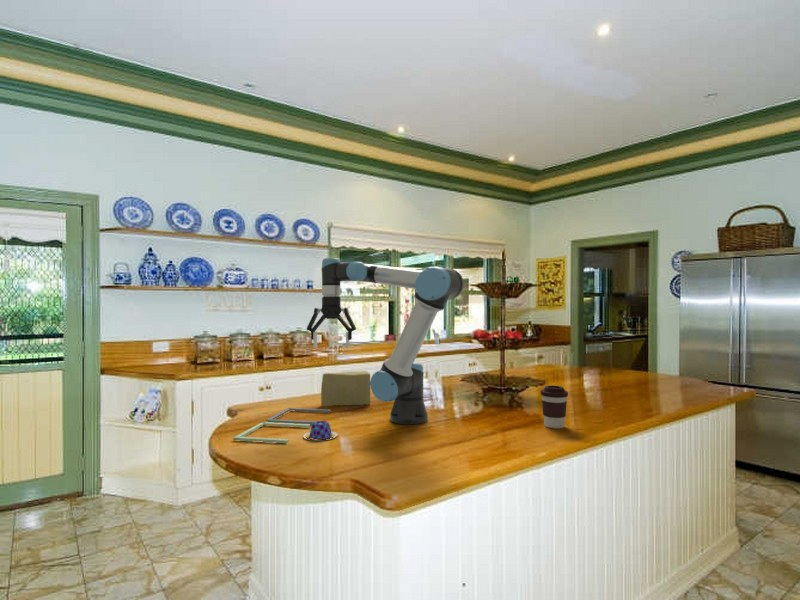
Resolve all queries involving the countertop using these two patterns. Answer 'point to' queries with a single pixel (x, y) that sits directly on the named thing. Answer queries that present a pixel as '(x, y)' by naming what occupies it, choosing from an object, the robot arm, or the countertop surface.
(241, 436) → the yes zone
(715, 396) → the countertop surface
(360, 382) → the olive beige rectangular block
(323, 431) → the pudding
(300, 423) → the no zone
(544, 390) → the coffee cup
